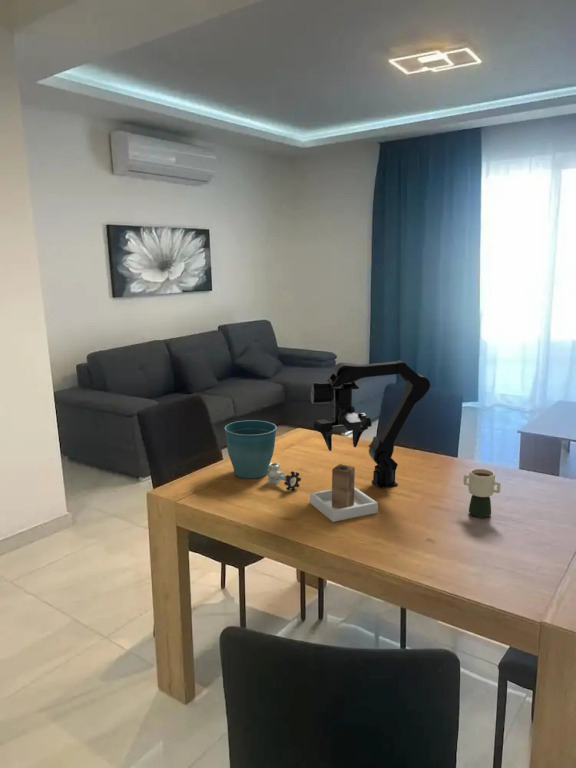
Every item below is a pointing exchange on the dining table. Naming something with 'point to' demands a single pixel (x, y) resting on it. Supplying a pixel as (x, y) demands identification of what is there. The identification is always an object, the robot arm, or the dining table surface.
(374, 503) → the tray
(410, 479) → the dining table surface
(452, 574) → the dining table surface
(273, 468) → the valve
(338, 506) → the walnut block
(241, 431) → the flower pot
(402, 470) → the dining table surface
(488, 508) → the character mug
